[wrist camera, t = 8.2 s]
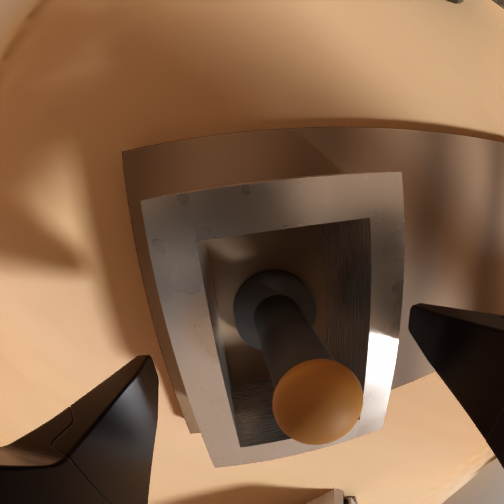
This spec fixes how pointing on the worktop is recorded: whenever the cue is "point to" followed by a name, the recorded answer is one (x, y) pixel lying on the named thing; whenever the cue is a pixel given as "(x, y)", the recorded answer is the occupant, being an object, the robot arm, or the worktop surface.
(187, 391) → the hollow metal box
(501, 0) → the tabletop clock
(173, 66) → the worktop surface
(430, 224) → the board
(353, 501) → the grey rounded block
